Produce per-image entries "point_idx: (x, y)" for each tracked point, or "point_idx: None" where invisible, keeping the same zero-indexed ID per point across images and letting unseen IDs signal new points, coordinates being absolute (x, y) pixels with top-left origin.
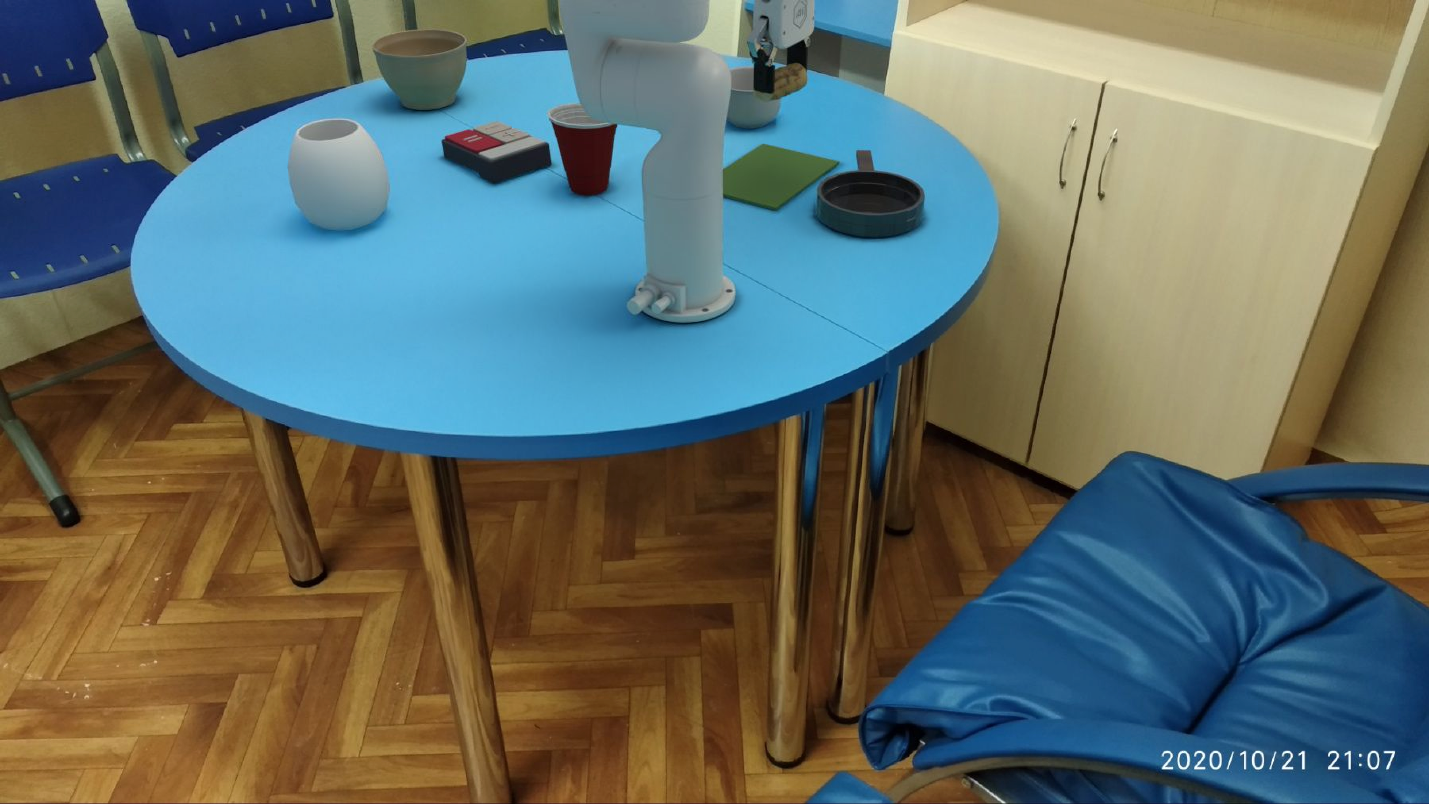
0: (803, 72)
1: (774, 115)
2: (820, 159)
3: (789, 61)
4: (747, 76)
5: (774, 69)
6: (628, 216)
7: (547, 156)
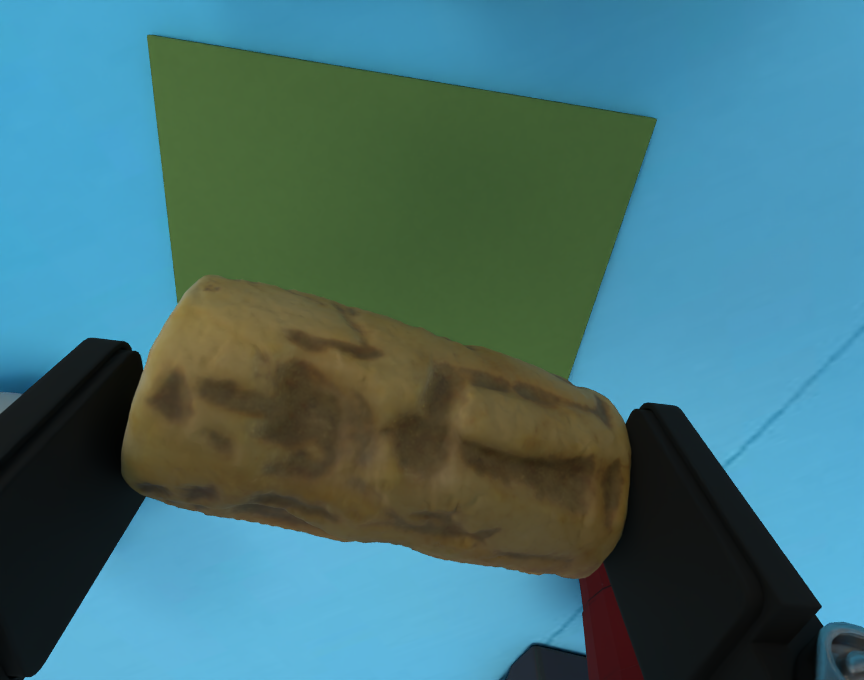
0: (214, 345)
1: (4, 396)
2: (178, 121)
3: (111, 525)
4: None
5: (767, 562)
6: (749, 455)
7: (545, 668)
